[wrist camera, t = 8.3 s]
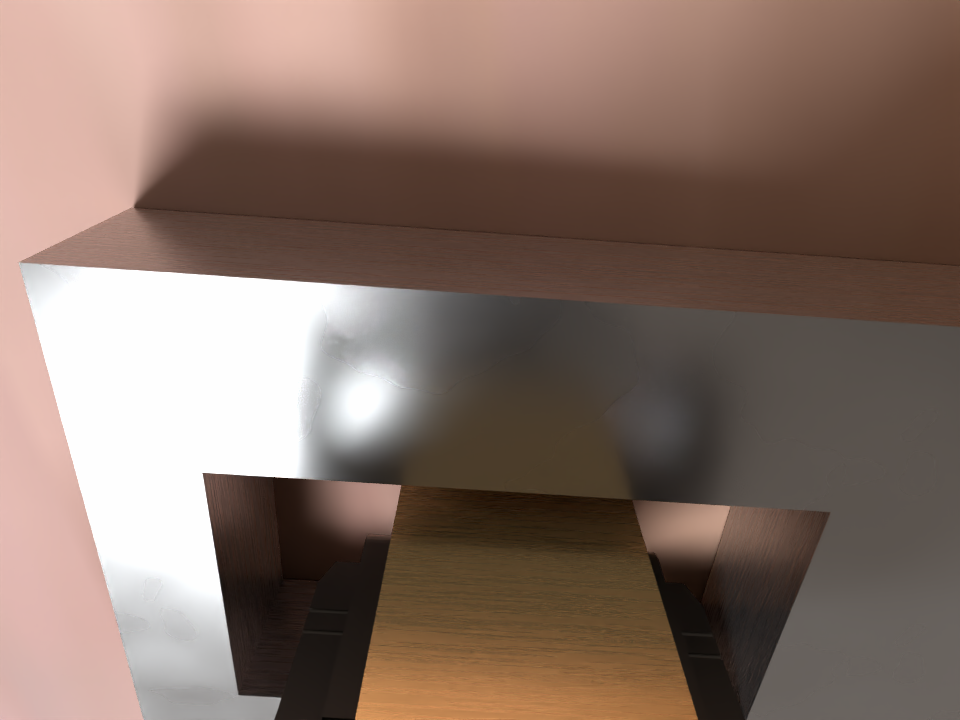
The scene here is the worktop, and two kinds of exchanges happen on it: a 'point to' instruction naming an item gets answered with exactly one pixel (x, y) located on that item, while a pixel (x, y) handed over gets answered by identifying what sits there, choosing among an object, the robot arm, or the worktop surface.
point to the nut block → (519, 613)
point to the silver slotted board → (513, 431)
